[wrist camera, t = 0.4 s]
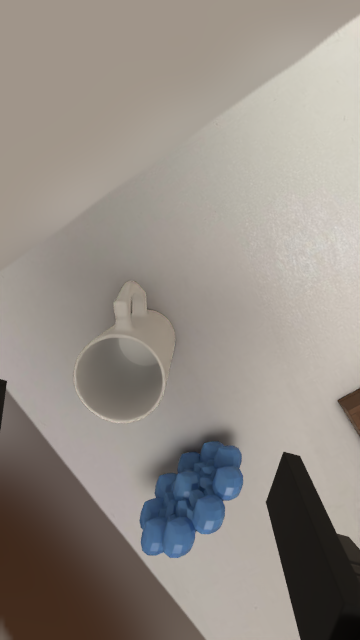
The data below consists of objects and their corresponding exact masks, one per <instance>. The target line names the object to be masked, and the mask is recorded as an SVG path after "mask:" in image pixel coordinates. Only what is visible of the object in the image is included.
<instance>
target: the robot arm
mask: <svg viewBox="0 0 360 640" xmlns="http://www.w3.org/2000/svg"><path fill="white" fill-rule="evenodd" d="M6 384H7V381H5V380H1V379H0V429H1V421H2V414H3V406H4V399H5V391H6ZM266 504H267V508H268V512H269V516H270V520H271V524H272V528H273V532H274V536H275V540H276V544H277V548H278V552H279V556H280V560H281V564H282V568H283V572H284V575H285V579H286V583H287V587H288V591H289V595H290V599H291V603H292V607H293V611H294V615H295V619H296V623H297V627H298V631H299V635H300V639H301V640H360V549H359V548H358V547H357V546H356V545H355V543H354V542H353V541H352V540H351V539H350V538H349V537H347V536H344V535H340V534H337V533H336V531H335V529H334V527H333V525H332V523H331V521H330V518H329V516H328V514H327V512H326V510H325V508H324V506H323V504H322V502H321V499H320V497H319V495H318V493H317V491H316V489H315V487H314V485H313V483H312V480H311V478H310V476H309V474H308V472H307V470H306V468H305V466H304V464H303V461H302V459H301V457H300V456H298V455H294V454H290V453H286V452H283V455H282V458H281V461H280V463H279V466H278V469H277V472H276V475H275V478H274V481H273V483H272V486H271V489H270V492H269V495H268V498H267V501H266Z"/></svg>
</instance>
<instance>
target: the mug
mask: <svg viewBox="0 0 360 640" xmlns="http://www.w3.org/2000/svg"><path fill="white" fill-rule="evenodd" d="M131 298H132V313H131ZM113 306H114V314H115V317H116V323H115V325H113V326H112V327H111V328H109V329H108V330H106V331H105V332H104V333H102V334H101V335H100V336H98V337H97V338H95V339H94V340H93V341H92V342H90V343H89V344H88V345H87V346H86V347H85V348H84V349H83V350H82V351H81V353H80V354H79V356H78V358H77V360H76V363H75V367H74V375H73V377H74V385H75V389H76V392H77V394H78V396H79V398H80V400H81V401H82V403H83V404H84V405H85V406H86V407H87V408H88V409H89V410H90V411H91V412H92V413H93V414H95V415H96V416H98V417H100V418H102V419H104V420H107V421H110V422H114V423H130V422H135V421H138V420H140V419H142V418H144V417H146V416H148V415H149V414H150V413H151V412H153V411H154V410H155V408H156V407H157V406H158V404H159V403H160V401H161V399H162V397H163V394H164V391H165V387H166V384H167V379H168V375H169V370H170V366H171V361H172V357H173V352H174V347H175V332H174V329H173V326H172V324H171V323H170V321H169V320H168V319H167V318H166V317H165V316H164V315H162V314H161V313H159V312H156V311H153V310H147V304H146V293H145V291H144V290H143V289H142V288H141V286H140V285H139V284H138V283H136V282H135V281H128V282H126V283H125V284H124V285H123V287H122V289H121V290H120V292H119V295H118V297H117V299H116V301H115V302H114V303H113Z"/></svg>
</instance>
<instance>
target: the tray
mask: <svg viewBox="0 0 360 640" xmlns="http://www.w3.org/2000/svg"><path fill="white" fill-rule="evenodd" d="M338 402H339V403H340V405H341V407H342V408H343V410H344V411H345V413H346V415H347V416H348V418H349V420H350V421H351V423H352V424H353V426H354V428H355V429H356V431H357V433H358V434H359V436H360V389H358V390H356V391H354V392H353V393H351V394H349V395H347V396H345V397H343V398H341V399H339V400H338Z"/></svg>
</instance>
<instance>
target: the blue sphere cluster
mask: <svg viewBox="0 0 360 640" xmlns="http://www.w3.org/2000/svg"><path fill="white" fill-rule="evenodd" d="M241 459H242V454H241V452H240V450H239V448H237V447H235V446H228V445H227V446H224V445H223V444H222V443H220V442H218V441H211V442H207V443H204V445H203V447H202V450H201V452H200V454H199V453H197V452H187V453H184V454H182V455H181V457H180V460H179V463H178V469H177V471H178V474H175V473H167V474H163V475H160V476H159V478H158V481H157V484H156V487H155V496H156V498H154V499H151V500H148V501H146V502H145V503H144V505H143V508H142V511H141V515H140V525H141V528H142V529H143V532H142V537H141V546H142V551H144V552H145V553H146V554H147V555H158V554H160V553H163V552H164V553H165V554H166V555H167V556H169V557H170V558H179V557H181V556H183V555H185V554H187V553H188V552H189V551H190V550H191V548H192V546H193V543H194V540H195V532H196V531H198V532H199V533H201V534H211V533H213V532H216V531H217V530H218V529H219V528H220V527H221V525H222V522H223V519H224V516H225V506H224V504H223V500H226V501H229V500H232V499H234V498H236V497H237V496H238V495H239V493H240V491H241V488H242V485H243V475H242V473H241V471H240V469H239V468H240V465H241Z"/></svg>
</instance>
